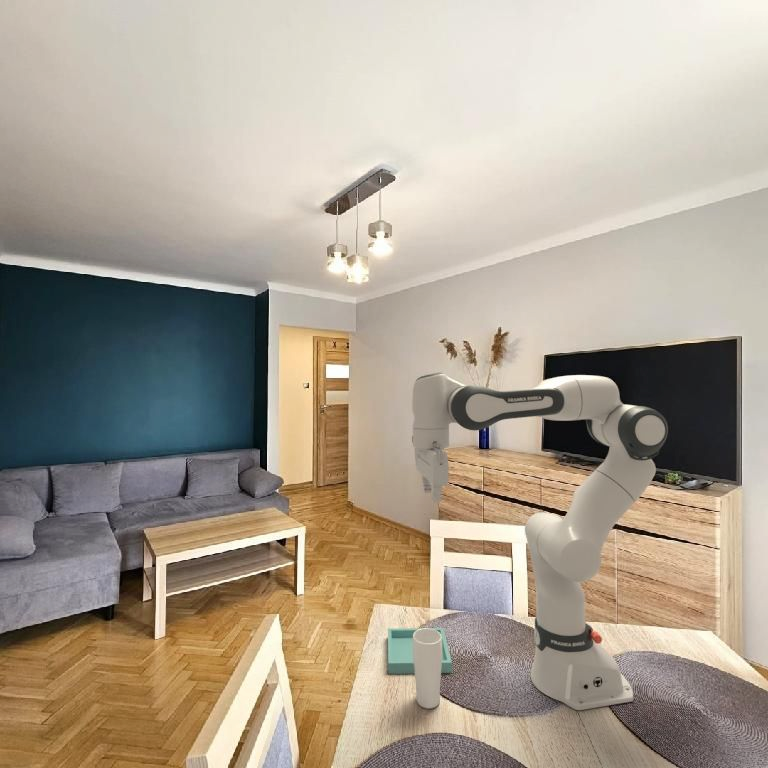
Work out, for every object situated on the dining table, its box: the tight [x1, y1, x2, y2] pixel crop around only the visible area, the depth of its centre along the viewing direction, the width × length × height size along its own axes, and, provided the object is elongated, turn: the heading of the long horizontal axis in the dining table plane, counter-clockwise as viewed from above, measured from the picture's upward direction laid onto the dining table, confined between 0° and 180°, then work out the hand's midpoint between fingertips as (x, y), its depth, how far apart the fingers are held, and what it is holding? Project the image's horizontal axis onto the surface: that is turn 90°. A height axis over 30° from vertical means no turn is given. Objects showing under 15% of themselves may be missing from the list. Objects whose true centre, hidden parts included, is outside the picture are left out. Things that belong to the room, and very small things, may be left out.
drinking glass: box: [413, 627, 442, 709], centre depth 100 cm, size 7×7×15 cm
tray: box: [387, 627, 453, 675], centre depth 118 cm, size 16×16×3 cm
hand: (431, 496), depth 106 cm, fingers open, 8 cm apart
